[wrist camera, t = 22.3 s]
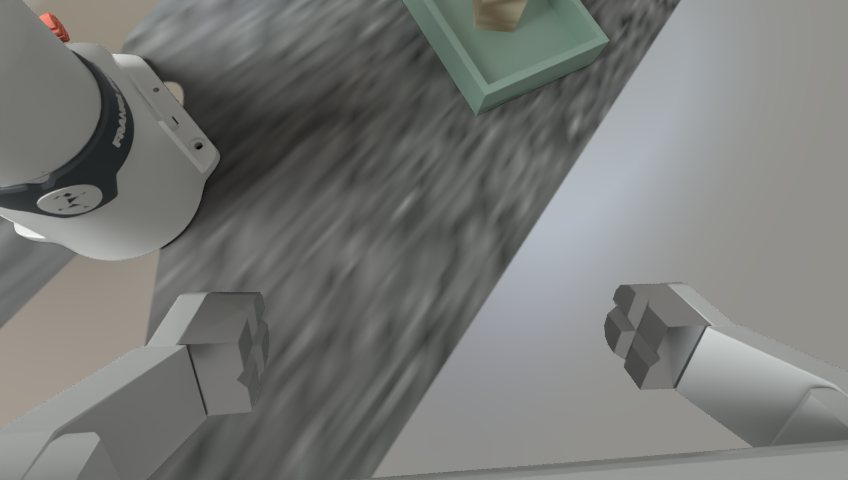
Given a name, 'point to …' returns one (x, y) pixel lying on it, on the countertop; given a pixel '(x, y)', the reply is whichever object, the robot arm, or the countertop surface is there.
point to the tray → (508, 47)
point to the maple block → (497, 14)
